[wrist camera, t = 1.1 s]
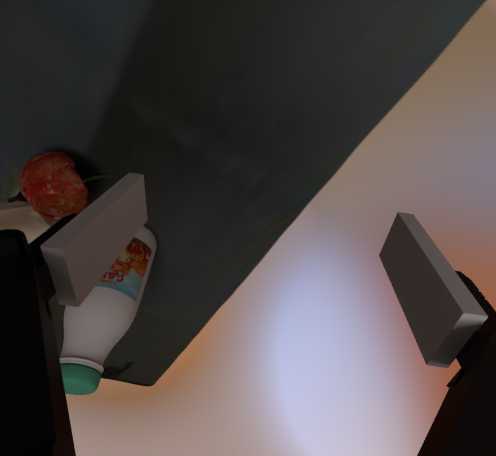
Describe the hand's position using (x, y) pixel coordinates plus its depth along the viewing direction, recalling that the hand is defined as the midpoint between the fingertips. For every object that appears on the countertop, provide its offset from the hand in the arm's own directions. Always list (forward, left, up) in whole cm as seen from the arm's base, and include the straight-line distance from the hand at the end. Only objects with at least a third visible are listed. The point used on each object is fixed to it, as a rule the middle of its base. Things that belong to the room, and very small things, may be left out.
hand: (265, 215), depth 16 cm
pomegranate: (+5, -23, -18) cm, 29 cm away
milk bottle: (+17, -22, -18) cm, 33 cm away
